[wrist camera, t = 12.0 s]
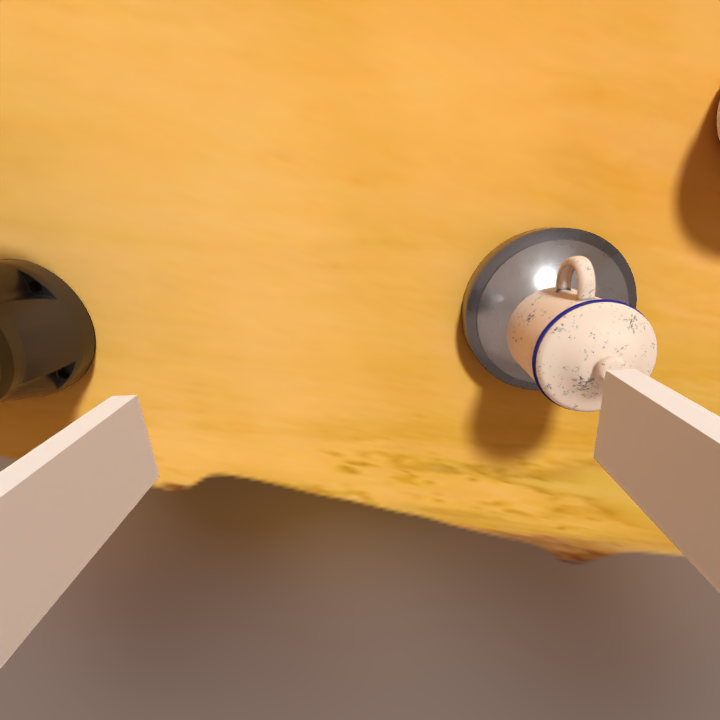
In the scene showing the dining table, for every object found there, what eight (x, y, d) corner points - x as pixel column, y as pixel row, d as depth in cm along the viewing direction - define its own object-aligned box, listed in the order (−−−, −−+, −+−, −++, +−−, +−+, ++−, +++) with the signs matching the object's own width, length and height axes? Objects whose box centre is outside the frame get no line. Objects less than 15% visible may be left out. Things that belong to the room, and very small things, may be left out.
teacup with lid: (596, 369, 40) (677, 424, 29) (503, 378, 41) (547, 435, 30) (603, 245, 36) (699, 254, 25) (500, 258, 37) (549, 272, 26)
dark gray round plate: (460, 384, 45) (465, 395, 42) (462, 233, 40) (468, 234, 37) (610, 378, 43) (626, 388, 41) (633, 221, 38) (652, 221, 36)
